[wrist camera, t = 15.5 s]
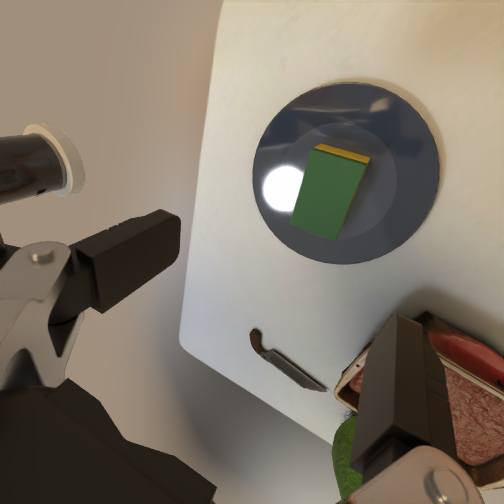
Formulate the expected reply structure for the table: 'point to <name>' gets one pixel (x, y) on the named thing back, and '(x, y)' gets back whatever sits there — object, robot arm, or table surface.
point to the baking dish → (458, 397)
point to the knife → (283, 364)
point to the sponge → (328, 190)
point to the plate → (374, 179)
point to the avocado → (345, 458)
